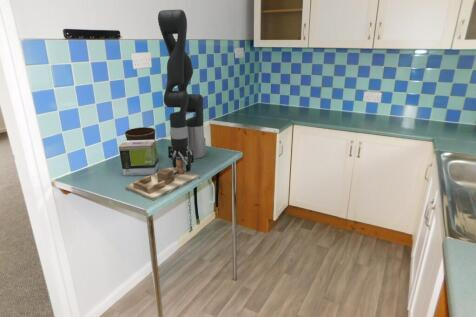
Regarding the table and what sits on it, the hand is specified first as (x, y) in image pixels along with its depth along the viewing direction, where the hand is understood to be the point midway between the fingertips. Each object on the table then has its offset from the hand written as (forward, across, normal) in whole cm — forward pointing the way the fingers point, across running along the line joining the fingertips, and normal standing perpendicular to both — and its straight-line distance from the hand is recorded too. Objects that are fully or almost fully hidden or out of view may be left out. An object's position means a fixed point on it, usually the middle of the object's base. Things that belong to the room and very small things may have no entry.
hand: (181, 169), depth 148 cm
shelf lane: (+3, 0, +11) cm, 11 cm away
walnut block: (+2, -1, +7) cm, 7 cm away
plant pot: (+3, +30, -1) cm, 30 cm away
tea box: (+3, +19, +9) cm, 21 cm away
